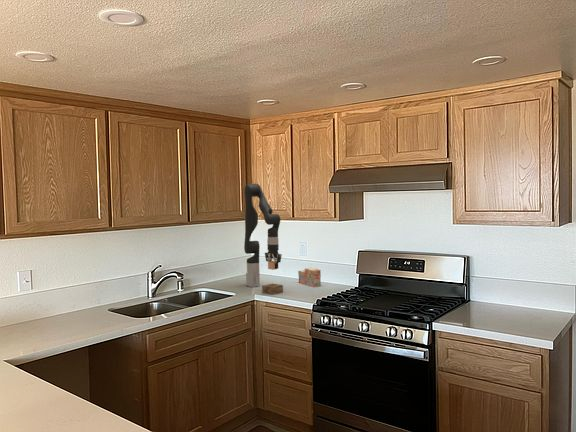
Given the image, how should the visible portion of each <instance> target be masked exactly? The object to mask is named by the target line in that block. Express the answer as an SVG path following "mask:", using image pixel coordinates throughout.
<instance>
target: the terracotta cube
mask: <svg viewBox="0 0 576 432" xmlns="http://www.w3.org/2000/svg"><path fill="white" fill-rule="evenodd" d="M267 269H268V270H278V269H279V267H278V268H277V269H275V261H274V260H272V261H269V262H268V261H267Z"/></svg>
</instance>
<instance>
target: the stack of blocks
mask: <svg viewBox="0 0 576 432" xmlns="http://www.w3.org/2000/svg"><path fill="white" fill-rule="evenodd" d="M297 271H298V272H297V273H298V283H299V284H301V285H305V286H308V287H312V288H318V287H319V288H320V287H321V285H322V284H321V274H322V273H321V269H318V268H314V267H307V268H306V267H305V268H304V270H297Z"/></svg>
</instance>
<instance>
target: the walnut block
mask: <svg viewBox="0 0 576 432" xmlns="http://www.w3.org/2000/svg"><path fill="white" fill-rule="evenodd" d="M261 288H262V289H261V291H262V294H267V295H271V296H272V295H273V296H274V295H278V294H282V293H283V292H284V285H283V284H278V283H268V284H263V285H261Z"/></svg>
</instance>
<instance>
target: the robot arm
mask: <svg viewBox="0 0 576 432" xmlns="http://www.w3.org/2000/svg"><path fill="white" fill-rule="evenodd" d="M243 191H244V204H245V205H244V208H245V210H244V212H245V216H244V225H245V226H244V228H245V229H244V230H245V231H244V242H243V243H244V244H243V245H244V247H243V248H244V249H243V251H244V253H245V254H247V255H249V254H250V255H251V254H253V255H252V256H251V257H249V258H247V259H246V273H245V286H247V287H249V288H255V287H256V286H258V287H260V285H261V282H260V281H261V280H260V279H261V278H260V276H261V275H260V242H259V240H251V237H252V234H253V232H254V231H255V229H257V226H258V223H259V215H258V212H257V210H256V208H255V207H254V204H253V201H252V198H253V197H255V198H256V197H257V198H258V199H259V201H258V207H259V210H260V212H261V213H262V215H263V218H264V223H265V224H267V225H269V226H272V227H270V228H268V229H267V252H264V257H265V262H267V263H268V262H269V261H275V270H278V269H279V264H280V263H281V261H282V253H279V250H280V249H279V246H280V245H279V228H280V225H281V224H280V223H281V217H280V215H279V214H278V213H273V209H272V207H271V206H270V204H269V202H268V201H267V199H266V196H265V194H264V191H263V188H262V187H261V185H260V184H258V183H248V184H247V183H246V185H245V186H244V189H243ZM277 268H278V269H277Z"/></svg>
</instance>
